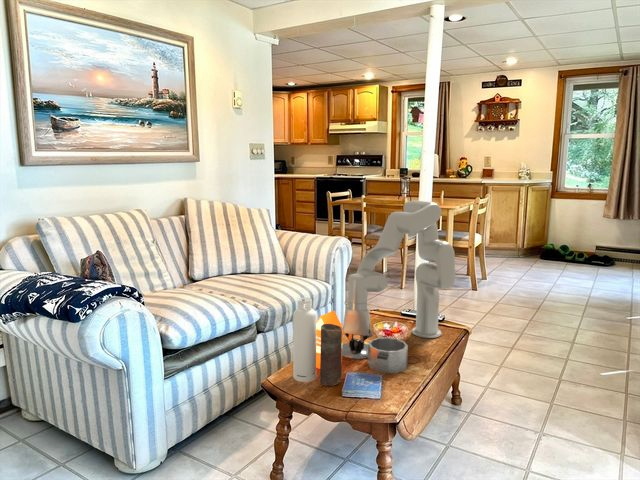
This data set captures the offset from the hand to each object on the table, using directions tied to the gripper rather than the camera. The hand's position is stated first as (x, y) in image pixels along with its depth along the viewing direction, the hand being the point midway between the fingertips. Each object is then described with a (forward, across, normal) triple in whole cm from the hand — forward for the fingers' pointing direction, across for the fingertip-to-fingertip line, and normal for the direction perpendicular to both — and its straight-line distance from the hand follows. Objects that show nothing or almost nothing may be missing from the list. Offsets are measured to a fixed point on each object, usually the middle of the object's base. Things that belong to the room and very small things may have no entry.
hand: (356, 349), depth 188 cm
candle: (+1, -1, -29) cm, 29 cm away
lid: (+1, 0, 0) cm, 1 cm away
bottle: (+1, -11, -28) cm, 30 cm away
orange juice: (+1, -7, -16) cm, 17 cm away
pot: (+1, +14, -8) cm, 16 cm away
